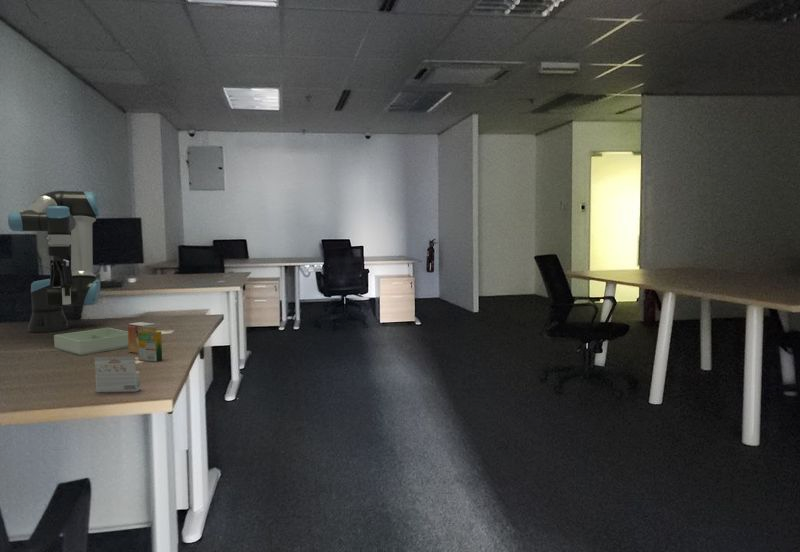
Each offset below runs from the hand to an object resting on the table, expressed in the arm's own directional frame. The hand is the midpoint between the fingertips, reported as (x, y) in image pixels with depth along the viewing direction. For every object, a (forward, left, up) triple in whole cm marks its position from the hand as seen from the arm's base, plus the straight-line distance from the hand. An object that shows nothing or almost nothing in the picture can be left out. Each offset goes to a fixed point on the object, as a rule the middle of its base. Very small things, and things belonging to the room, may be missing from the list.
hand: (62, 303), depth 205 cm
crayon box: (+56, +5, -16) cm, 58 cm away
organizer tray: (+18, +4, -16) cm, 24 cm away
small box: (+41, +10, -16) cm, 45 cm away
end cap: (0, 0, -1) cm, 1 cm away
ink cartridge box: (+84, -19, -16) cm, 87 cm away
